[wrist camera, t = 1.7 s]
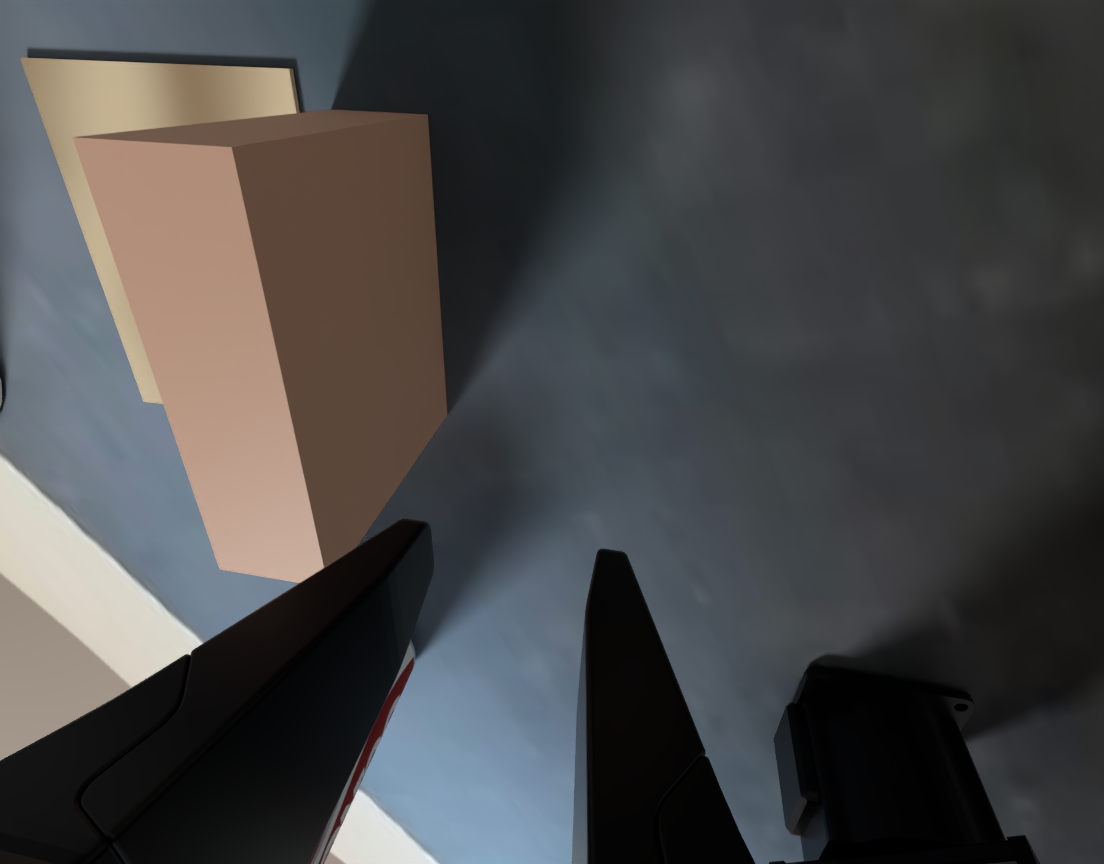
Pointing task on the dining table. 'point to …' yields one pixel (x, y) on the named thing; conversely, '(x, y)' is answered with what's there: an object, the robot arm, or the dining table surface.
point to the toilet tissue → (0, 393)
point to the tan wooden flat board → (137, 104)
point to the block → (283, 316)
